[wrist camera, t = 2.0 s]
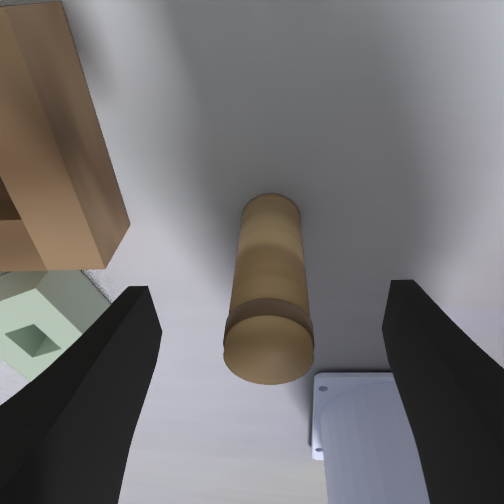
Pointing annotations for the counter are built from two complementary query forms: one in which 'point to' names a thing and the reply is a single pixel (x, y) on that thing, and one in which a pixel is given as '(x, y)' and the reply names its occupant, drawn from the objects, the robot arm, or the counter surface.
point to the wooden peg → (269, 296)
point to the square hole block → (51, 151)
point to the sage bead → (44, 316)
